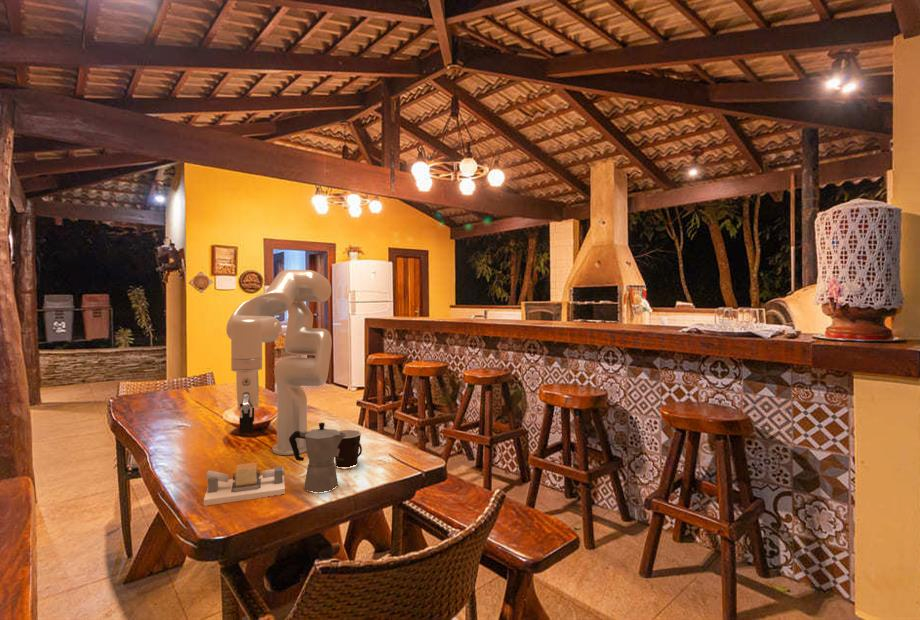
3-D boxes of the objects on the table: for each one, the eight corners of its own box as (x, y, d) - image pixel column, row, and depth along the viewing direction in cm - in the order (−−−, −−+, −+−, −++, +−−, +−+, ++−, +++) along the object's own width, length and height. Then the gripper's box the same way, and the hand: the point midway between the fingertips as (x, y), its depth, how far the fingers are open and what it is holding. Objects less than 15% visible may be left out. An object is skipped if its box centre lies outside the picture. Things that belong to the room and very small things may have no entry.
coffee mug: (331, 462, 146) (331, 431, 146) (358, 459, 150) (358, 428, 149) (334, 475, 136) (334, 442, 135) (364, 472, 139) (364, 439, 138)
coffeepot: (348, 480, 133) (349, 418, 132) (341, 494, 123) (342, 427, 123) (294, 480, 132) (294, 418, 131) (283, 494, 122) (283, 427, 122)
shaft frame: (283, 477, 134) (283, 454, 133) (284, 494, 123) (285, 469, 122) (208, 487, 126) (208, 462, 126) (202, 506, 115) (202, 479, 115)
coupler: (260, 479, 128) (260, 462, 127) (259, 486, 123) (259, 467, 123) (233, 483, 125) (233, 464, 125) (232, 489, 121) (232, 470, 121)
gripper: (261, 368, 117) (261, 435, 118) (262, 358, 133) (262, 417, 134) (228, 370, 114) (229, 438, 115) (233, 360, 130) (233, 419, 131)
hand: (247, 427), depth 124 cm, fingers open, 9 cm apart
